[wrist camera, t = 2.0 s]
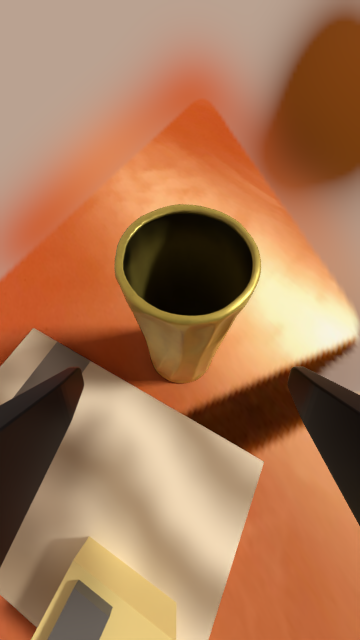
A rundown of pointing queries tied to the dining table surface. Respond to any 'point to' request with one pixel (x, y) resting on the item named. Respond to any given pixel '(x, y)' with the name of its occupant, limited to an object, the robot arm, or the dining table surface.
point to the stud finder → (106, 602)
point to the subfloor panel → (128, 493)
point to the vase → (186, 283)
